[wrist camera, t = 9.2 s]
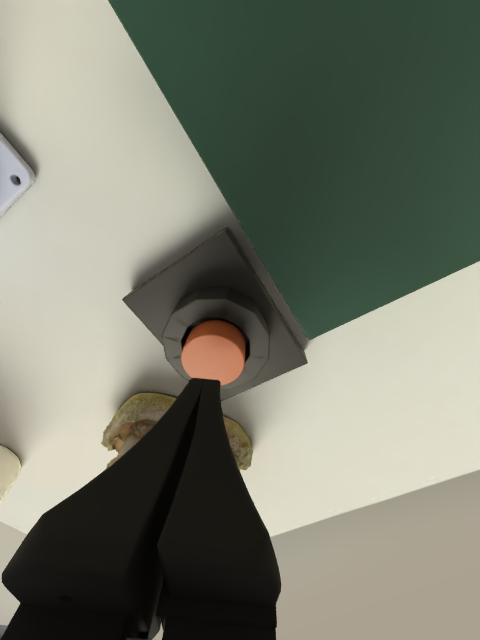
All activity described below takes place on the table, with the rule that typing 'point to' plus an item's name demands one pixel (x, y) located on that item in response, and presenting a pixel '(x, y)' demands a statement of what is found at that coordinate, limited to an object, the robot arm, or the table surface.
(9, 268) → the table surface
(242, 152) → the lid
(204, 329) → the button
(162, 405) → the ceramic model
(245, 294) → the switch block
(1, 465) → the cup
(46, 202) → the table surface
